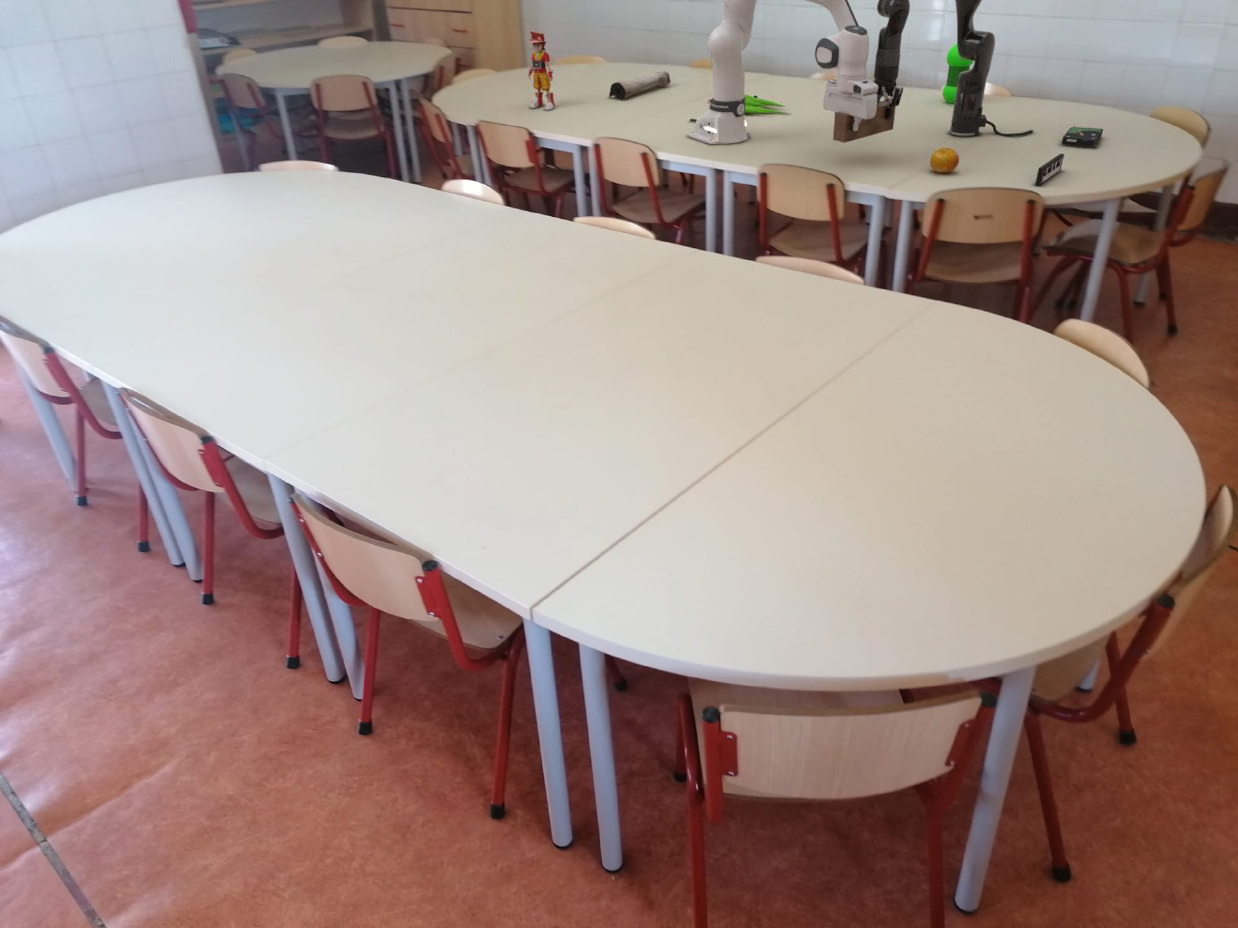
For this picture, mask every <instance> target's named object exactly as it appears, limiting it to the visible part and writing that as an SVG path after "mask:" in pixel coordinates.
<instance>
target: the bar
mask: <svg viewBox="0 0 1238 928" xmlns="http://www.w3.org/2000/svg"><path fill="white" fill-rule="evenodd" d="M890 104H891V103H890ZM886 108H887V106H886V101H885V100H884V99H883V100H880V101H879V102H877V109H876V115H875V116H874V117H873V118H871V119H867V120H866V119H862V120H861V122H860V123H859V125H858V130H857V131H852V130H851V125H853V124H854V122H855V120H854V116H850V115H849V114H845V113H841V112H837V113H835V116H834V121H833V122H834V123H833V136H832V140H833V141H836V142H840V143H844V144H845V143H849V142H853V141H856V140H860V139H863V138H867V137H871V136H874V135H877V134H881V133H885V132H888V131H889V132H890V131H892V130H894V124H895V115H896V108H897V106H895V107H893V114H892V118H891V119H889V120H886V119H885V114H886Z"/></svg>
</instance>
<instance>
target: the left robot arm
mask: <svg viewBox="0 0 1238 928" xmlns="http://www.w3.org/2000/svg"><path fill="white" fill-rule="evenodd" d="M757 1H758V0H723V10H722V18H721V22H720V24H719V25H718V26H717V27H715V28H714V29H713V31H711V33H710V35H709V37H708V40H707V51H708V52H709V56H710V63H711V68H712V76H713V78H712V81H713V83H712V88H713V89H712V93H713V94H712V97H711V99H707V104H709V107H708V109H707V110H706V111H705V112H703V113H702V114H701V115H700V116H698V118H697V119H696V118H690V119H689V121H690V122H695V126H694V130H692V131H690V132H689V133H688V137H689V138H692V139H695V140H698V141H700V142H704V143H707V144H709V145H718V144H721V145H722V144H723V145H725V144H726V145H727V144H736V143H742V142H744V141H746V140H748V139H749V138H748V137H749V136H748V133H747V121H746V117H745V113H744V111H745V97H744V95H745V84H746V83H745V82H746V79H745V78H746V74H745V71H744V68H743V60H742V51H744V50H745V49H746V48H747V47H748V45H749V43H750V40H751V37H752V29H753V24H754V16H755V9H756V5H757ZM805 1H806V2H808V3H814V4H816V5H819V6H822V7H823V8H824V9H826V10H828V11H829V12H830V14H831V16H832V19H833V20H834V21H833V22H834V23H835V26H836V27H837V29H838V32H837V33H834V34H831V35H828V36H824V37H822V38H821V39H819V40H818V42H817V44H816V46H815V48H814V49H815V50H814V57H815V58H814V59H815V60H816V64H817V65H818V66H819V67H820V68H821V69H823V70H832V69H836V70H837V74H836V75H837V76H836V79H833V78H832V79H831V78H830V80H828V81H827V83H826V86H825V89H824V90H825V91H824V95H823V99H822V100H823V101H822V107H823V109H824V110H826V111H829V112H834V114H833V116H834V117H835V113H837V112H841V113H845V114H849V115H850V116H854V120H855V122H854V124H853V125H851V130H852V131H857V130H858V125H859V123H860V122H861V120H862V119H866V120H867V119H871V118H873V117H874V116H875V115H876V109H877V95H876V93H875V92H876V91H877V90H878V85H877V84H876V83H874V82H873V81H874V80H872V79H870V78H869V77H868V76H867V62H868V58H869V51H870V50H869V49H870V36H869V32H868V30H867V29H866V28H865V27H863V26H862V25H861V26H860V25H859V23H858V21H857V18H856V15H855V14H854V11H853V9H852V7H851V4H850V2H849V1H848V0H805Z"/></svg>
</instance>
